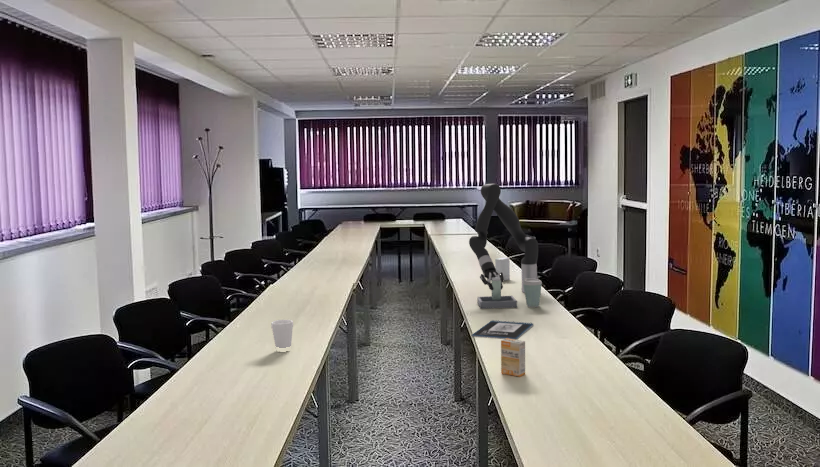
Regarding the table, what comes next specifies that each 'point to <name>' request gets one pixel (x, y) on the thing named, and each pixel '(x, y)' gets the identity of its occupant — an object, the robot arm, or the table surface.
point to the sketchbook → (503, 329)
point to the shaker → (496, 288)
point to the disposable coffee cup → (532, 291)
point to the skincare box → (503, 267)
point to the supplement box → (513, 357)
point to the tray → (496, 302)
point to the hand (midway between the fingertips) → (497, 289)
